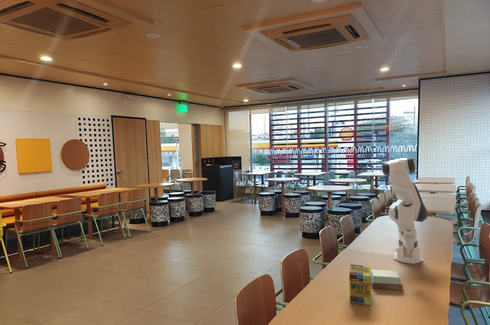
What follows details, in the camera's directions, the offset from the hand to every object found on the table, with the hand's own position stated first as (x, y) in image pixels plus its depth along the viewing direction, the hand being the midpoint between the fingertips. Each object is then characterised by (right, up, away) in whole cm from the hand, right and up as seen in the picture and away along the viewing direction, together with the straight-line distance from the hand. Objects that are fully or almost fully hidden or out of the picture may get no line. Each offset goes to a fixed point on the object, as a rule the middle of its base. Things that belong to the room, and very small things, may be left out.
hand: (406, 252), depth 193 cm
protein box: (-33, -20, -17) cm, 42 cm away
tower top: (-14, -15, -4) cm, 21 cm away
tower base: (-14, -19, -3) cm, 24 cm away
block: (0, -2, 0) cm, 2 cm away
